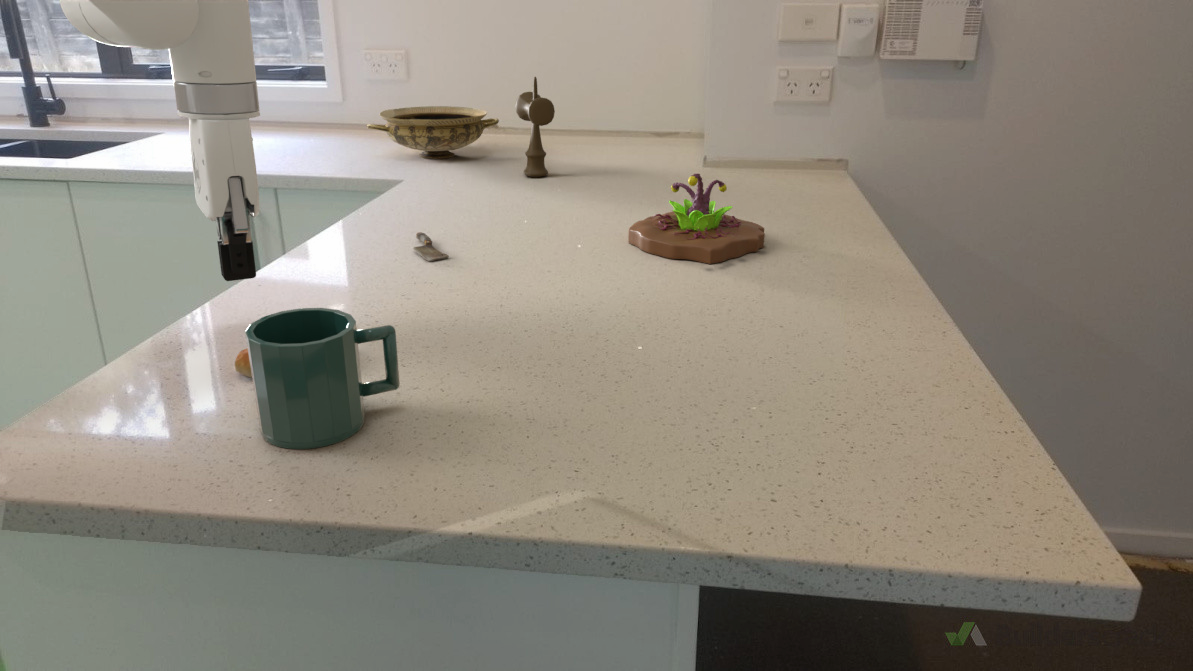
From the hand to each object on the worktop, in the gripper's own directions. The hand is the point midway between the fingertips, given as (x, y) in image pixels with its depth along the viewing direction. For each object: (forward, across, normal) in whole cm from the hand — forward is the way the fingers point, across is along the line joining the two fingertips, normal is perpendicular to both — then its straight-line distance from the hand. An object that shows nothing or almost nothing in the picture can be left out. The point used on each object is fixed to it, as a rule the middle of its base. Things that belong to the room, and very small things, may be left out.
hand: (239, 277), depth 90 cm
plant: (+5, -7, +68) cm, 68 cm away
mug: (+7, +23, +3) cm, 24 cm away
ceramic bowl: (+5, -93, +59) cm, 110 cm away
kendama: (+5, -63, +69) cm, 94 cm away
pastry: (+8, +10, +3) cm, 13 cm away
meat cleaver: (+6, -22, +30) cm, 38 cm away
